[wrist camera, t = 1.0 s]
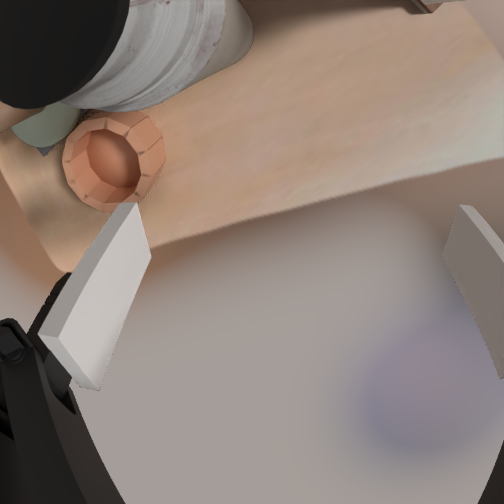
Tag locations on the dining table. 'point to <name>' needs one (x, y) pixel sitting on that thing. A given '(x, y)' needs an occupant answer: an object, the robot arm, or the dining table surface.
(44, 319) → the robot arm
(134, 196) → the bowl
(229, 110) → the dining table surface
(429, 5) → the white pedestal stand
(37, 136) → the lid
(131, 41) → the thermos bottle
